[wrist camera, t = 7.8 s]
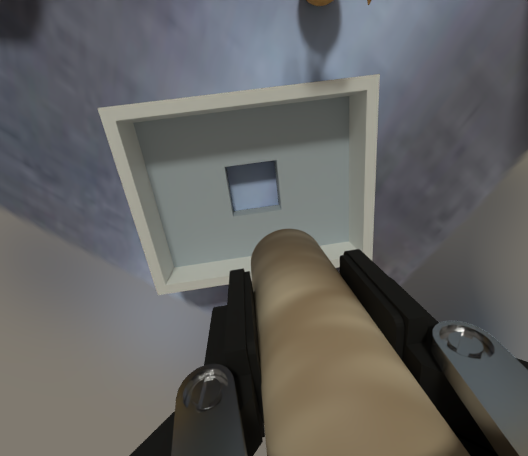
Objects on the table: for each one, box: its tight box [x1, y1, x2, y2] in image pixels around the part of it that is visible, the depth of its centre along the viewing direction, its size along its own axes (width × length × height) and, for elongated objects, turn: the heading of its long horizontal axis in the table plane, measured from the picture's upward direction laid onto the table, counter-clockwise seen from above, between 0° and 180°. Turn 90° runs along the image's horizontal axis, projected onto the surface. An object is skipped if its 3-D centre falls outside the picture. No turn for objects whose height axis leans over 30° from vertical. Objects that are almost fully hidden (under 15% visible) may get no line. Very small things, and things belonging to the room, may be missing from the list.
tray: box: [98, 74, 380, 295], centre depth 25 cm, size 22×17×6 cm
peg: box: [251, 229, 470, 456], centre depth 8 cm, size 4×4×10 cm
